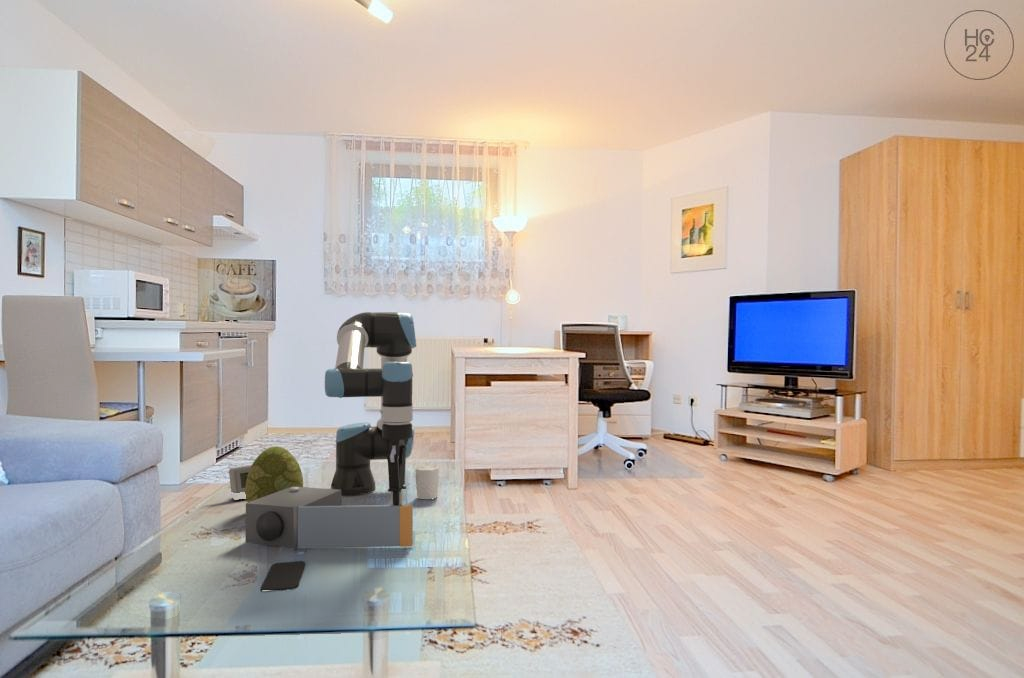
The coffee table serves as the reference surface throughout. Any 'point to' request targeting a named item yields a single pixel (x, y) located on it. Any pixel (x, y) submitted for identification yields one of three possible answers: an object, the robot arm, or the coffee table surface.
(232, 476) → the digital clock
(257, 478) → the decorative sculpture
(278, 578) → the phone
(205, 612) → the coffee table surface
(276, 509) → the camera body
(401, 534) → the side door
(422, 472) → the white cup
